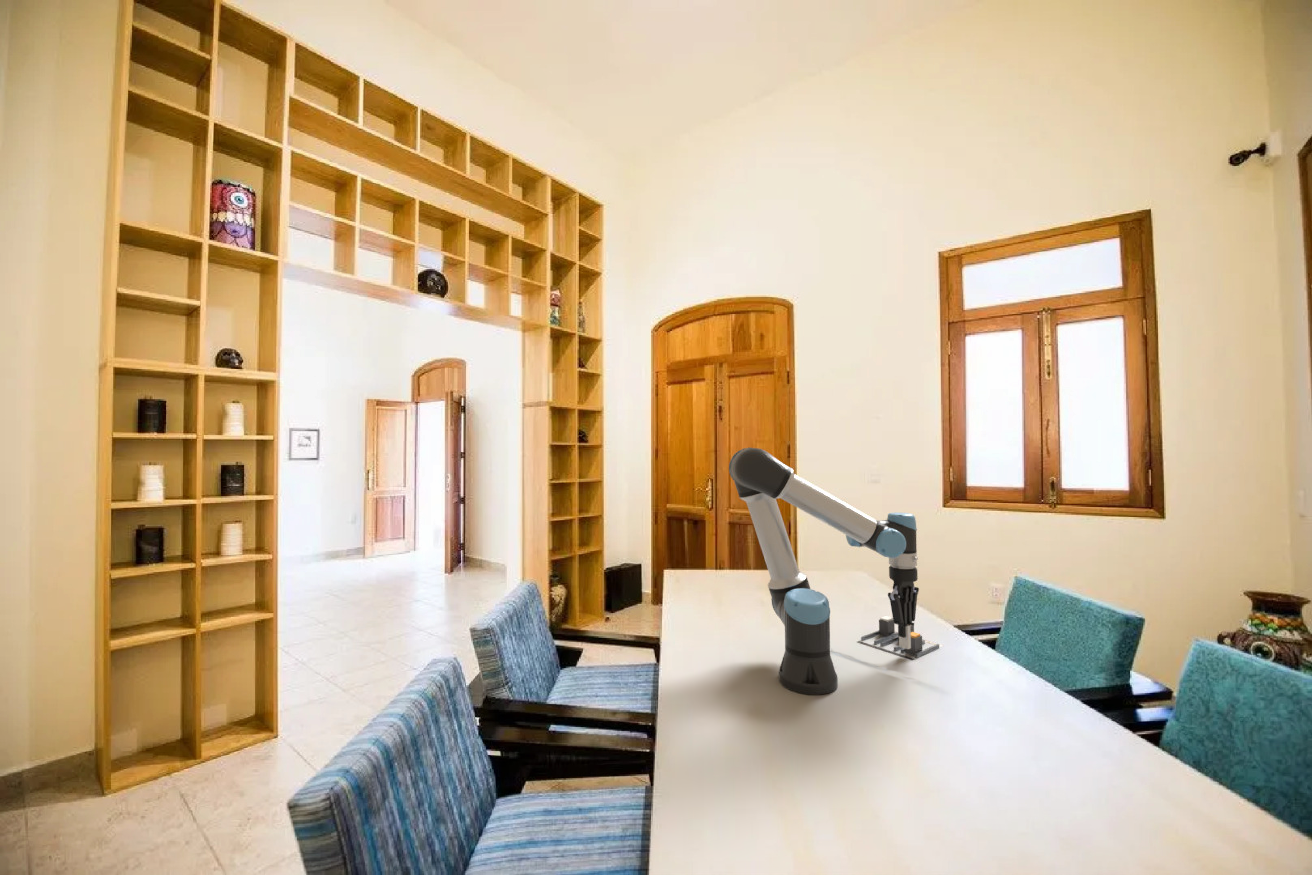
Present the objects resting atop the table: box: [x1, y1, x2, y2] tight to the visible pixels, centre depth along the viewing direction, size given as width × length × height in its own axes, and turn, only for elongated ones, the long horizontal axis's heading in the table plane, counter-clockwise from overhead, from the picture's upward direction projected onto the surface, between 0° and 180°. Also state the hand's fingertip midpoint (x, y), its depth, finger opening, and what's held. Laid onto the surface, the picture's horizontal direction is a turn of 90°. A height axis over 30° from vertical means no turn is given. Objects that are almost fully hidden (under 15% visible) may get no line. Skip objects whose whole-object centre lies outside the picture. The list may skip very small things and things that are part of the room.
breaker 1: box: [878, 615, 896, 637], centre depth 172 cm, size 4×3×6 cm
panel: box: [856, 629, 944, 661], centre depth 164 cm, size 26×20×2 cm
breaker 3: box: [905, 631, 923, 657], centre depth 157 cm, size 4×3×6 cm
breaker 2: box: [897, 624, 915, 642], centre depth 166 cm, size 4×3×6 cm
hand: (905, 647), depth 153 cm, fingers closed
